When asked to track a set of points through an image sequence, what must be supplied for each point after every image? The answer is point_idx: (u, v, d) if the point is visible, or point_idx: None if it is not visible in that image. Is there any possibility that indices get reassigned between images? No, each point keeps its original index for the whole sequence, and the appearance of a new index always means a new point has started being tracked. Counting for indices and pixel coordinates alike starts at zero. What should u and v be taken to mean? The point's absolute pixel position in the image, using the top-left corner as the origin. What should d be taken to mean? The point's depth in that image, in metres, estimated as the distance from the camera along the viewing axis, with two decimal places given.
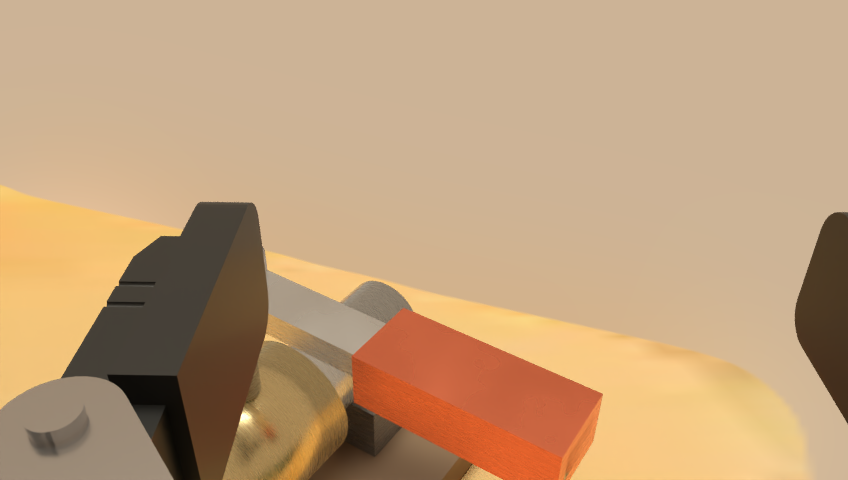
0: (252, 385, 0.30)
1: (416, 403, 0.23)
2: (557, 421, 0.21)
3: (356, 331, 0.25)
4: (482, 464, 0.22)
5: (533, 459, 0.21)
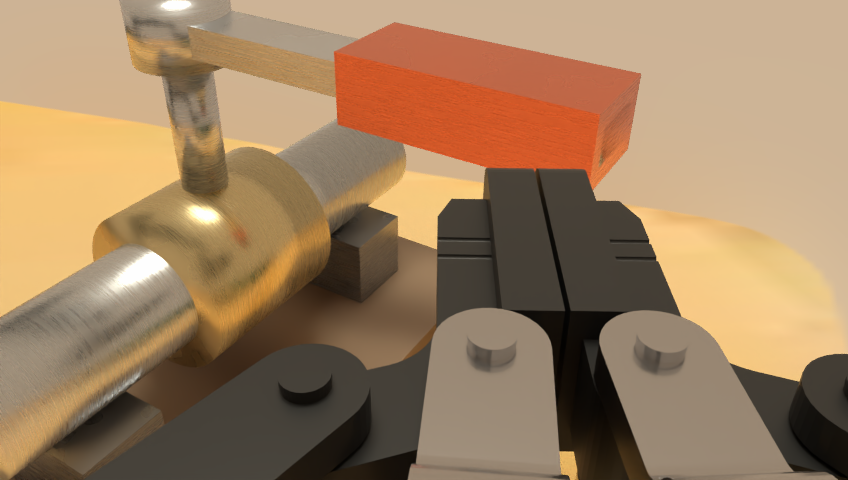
0: (218, 171, 0.26)
1: (414, 96, 0.19)
2: (589, 91, 0.17)
3: (338, 47, 0.21)
4: (497, 162, 0.18)
5: (562, 131, 0.17)
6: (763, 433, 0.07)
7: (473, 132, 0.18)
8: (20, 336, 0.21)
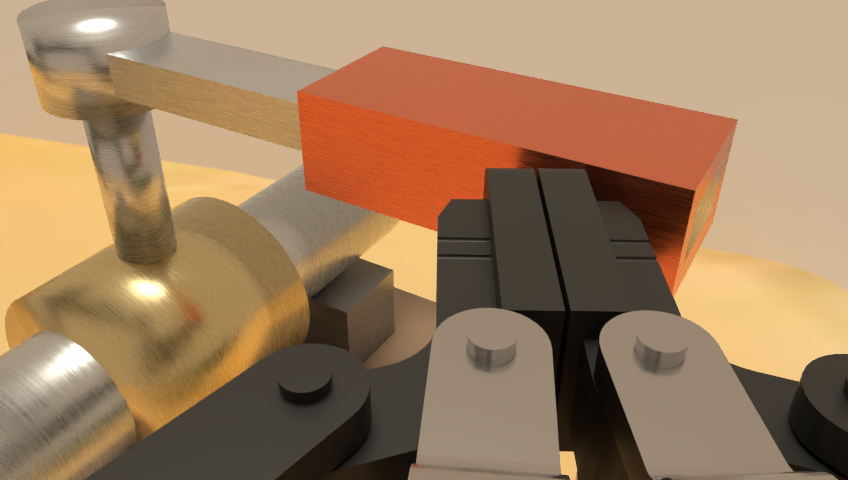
0: (161, 235, 0.20)
1: (411, 156, 0.13)
2: (669, 150, 0.12)
3: (307, 82, 0.15)
4: None
5: (633, 212, 0.11)
6: (763, 433, 0.07)
7: None
8: None
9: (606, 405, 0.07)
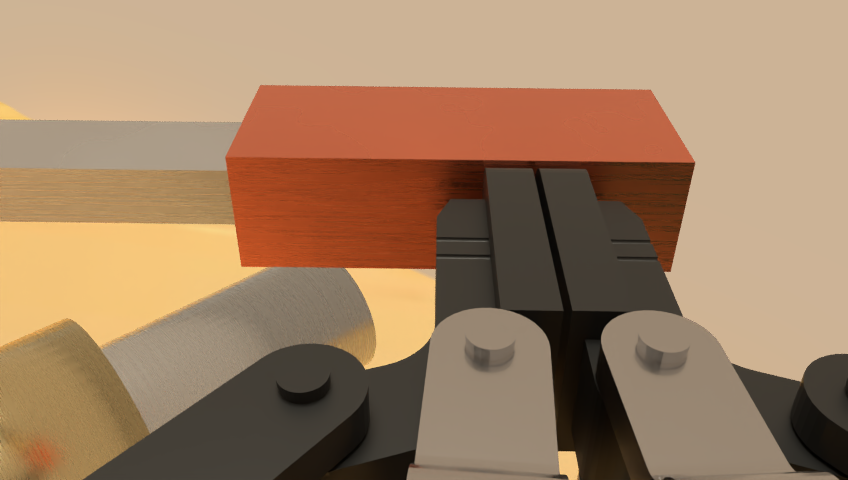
0: None
1: (385, 197, 0.12)
2: (635, 131, 0.12)
3: (193, 143, 0.13)
4: None
5: (636, 196, 0.12)
6: (765, 433, 0.07)
7: None
8: None
9: (608, 405, 0.07)
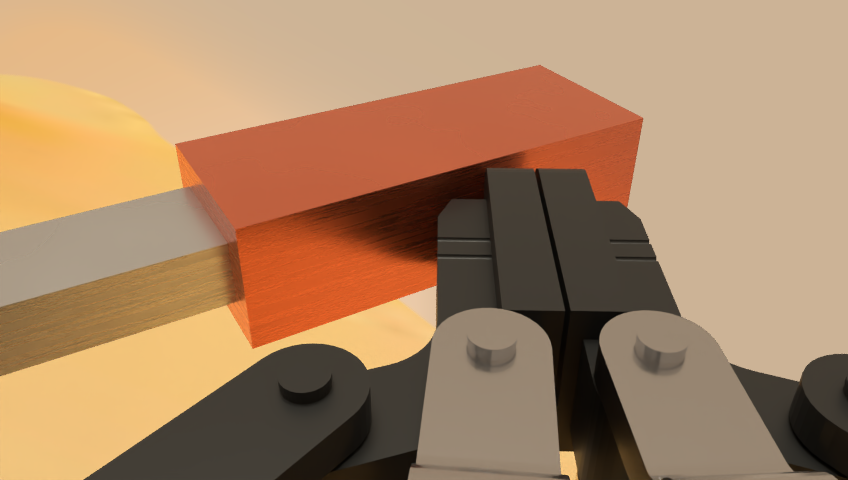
0: None
1: (399, 224, 0.11)
2: (570, 103, 0.13)
3: (141, 229, 0.11)
4: None
5: (602, 160, 0.13)
6: (763, 433, 0.07)
7: None
8: None
9: (606, 405, 0.07)
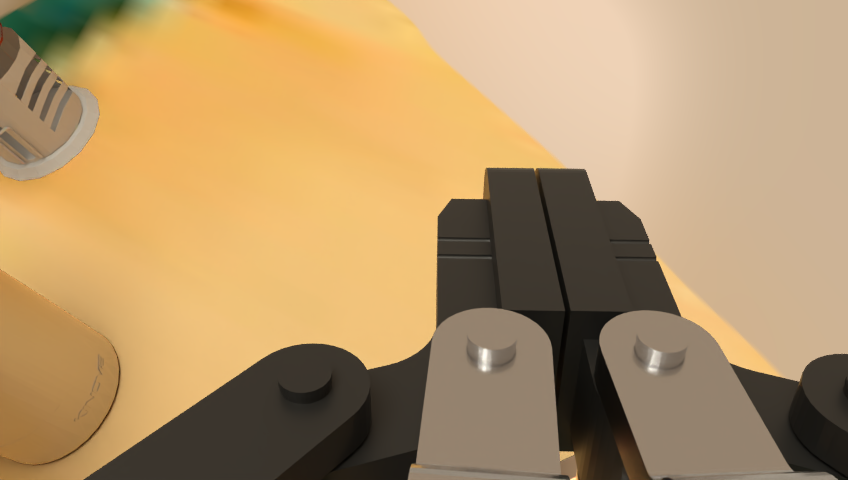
0: None
1: None
2: None
3: None
4: None
5: None
6: (763, 433, 0.07)
7: None
8: None
9: (606, 405, 0.07)
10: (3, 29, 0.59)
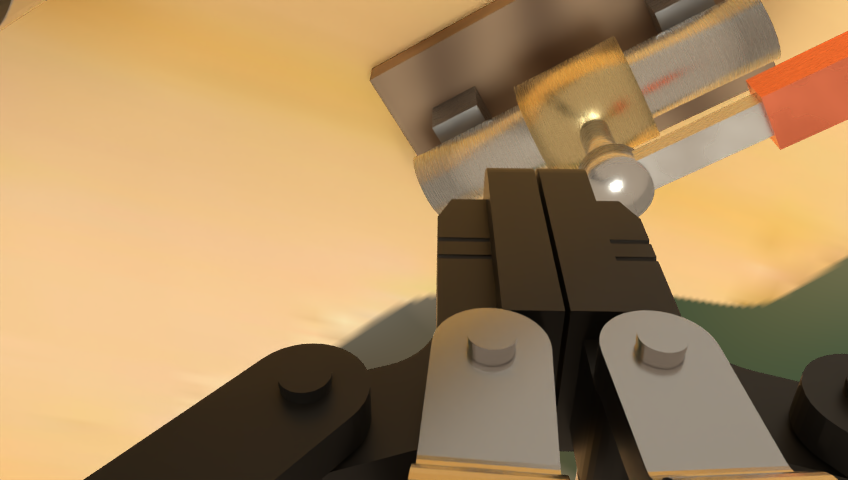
0: None
1: None
2: None
3: (745, 128, 0.34)
4: None
5: None
6: (763, 433, 0.07)
7: None
8: (466, 194, 0.44)
9: (606, 405, 0.07)
10: None
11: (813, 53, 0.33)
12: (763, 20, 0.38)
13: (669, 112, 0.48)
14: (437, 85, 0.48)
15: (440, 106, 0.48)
